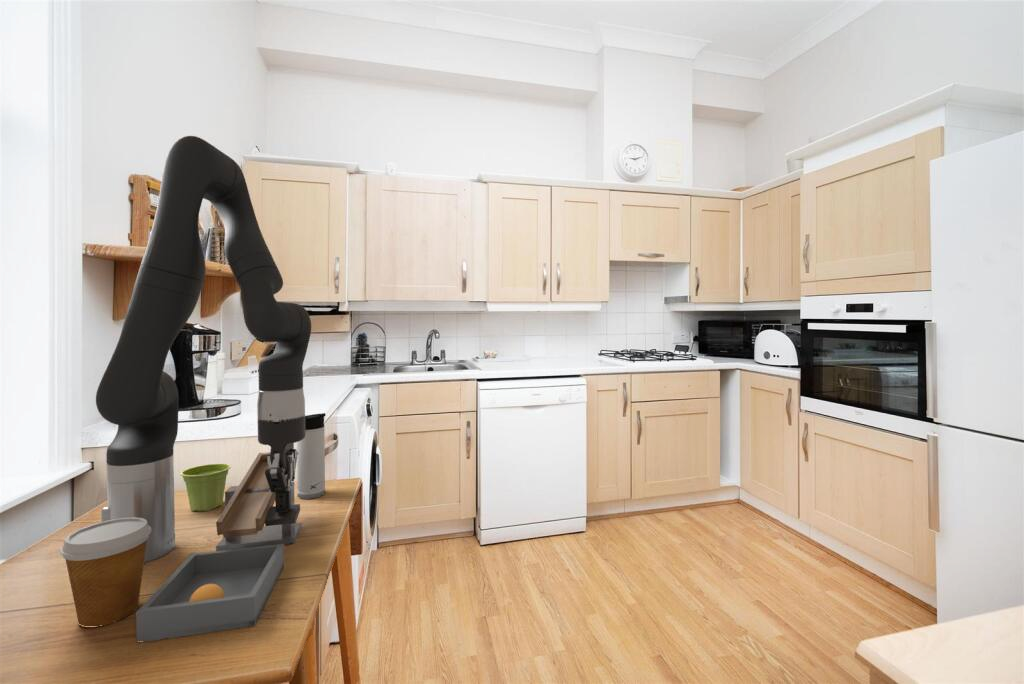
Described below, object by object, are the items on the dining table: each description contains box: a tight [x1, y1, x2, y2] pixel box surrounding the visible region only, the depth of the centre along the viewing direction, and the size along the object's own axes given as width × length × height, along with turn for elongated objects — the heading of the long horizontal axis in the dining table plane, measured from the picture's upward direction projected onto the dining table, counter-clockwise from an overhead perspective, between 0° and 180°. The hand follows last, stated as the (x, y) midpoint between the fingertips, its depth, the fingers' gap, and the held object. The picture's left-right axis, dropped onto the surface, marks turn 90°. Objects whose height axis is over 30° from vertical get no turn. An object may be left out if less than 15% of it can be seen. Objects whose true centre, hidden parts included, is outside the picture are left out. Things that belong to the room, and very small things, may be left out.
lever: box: [215, 451, 301, 539], centre depth 86 cm, size 11×24×5 cm, turn 14°
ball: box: [189, 584, 224, 602], centre depth 61 cm, size 4×4×4 cm
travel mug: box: [296, 413, 326, 500], centre depth 109 cm, size 6×7×20 cm
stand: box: [215, 481, 303, 551], centre depth 86 cm, size 13×7×10 cm, turn 104°
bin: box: [135, 544, 285, 643], centre depth 66 cm, size 14×16×4 cm
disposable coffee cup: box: [59, 517, 151, 626], centre depth 63 cm, size 10×10×12 cm
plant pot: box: [180, 463, 232, 512], centre depth 102 cm, size 9×9×9 cm
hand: (283, 510), depth 79 cm, fingers closed
